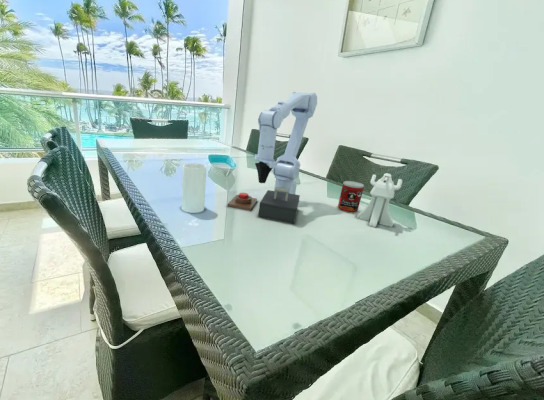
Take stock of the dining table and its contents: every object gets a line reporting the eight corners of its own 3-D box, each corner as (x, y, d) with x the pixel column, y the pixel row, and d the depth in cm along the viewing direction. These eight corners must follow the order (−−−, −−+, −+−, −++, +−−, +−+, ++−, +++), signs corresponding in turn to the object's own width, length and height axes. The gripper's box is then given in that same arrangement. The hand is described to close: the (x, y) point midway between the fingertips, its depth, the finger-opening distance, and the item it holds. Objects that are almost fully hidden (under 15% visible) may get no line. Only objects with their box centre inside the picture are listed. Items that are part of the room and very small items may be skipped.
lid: (267, 191, 110) (269, 178, 108) (299, 197, 106) (301, 183, 105) (259, 204, 95) (261, 189, 93) (296, 211, 92) (299, 195, 90)
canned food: (337, 210, 109) (343, 184, 106) (337, 204, 117) (343, 179, 113) (358, 214, 107) (365, 187, 103) (357, 208, 114) (363, 182, 110)
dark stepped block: (265, 203, 111) (267, 192, 109) (297, 209, 107) (299, 197, 106) (258, 217, 97) (259, 204, 95) (294, 224, 93) (296, 211, 92)
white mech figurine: (353, 222, 99) (366, 174, 93) (359, 212, 109) (371, 168, 103) (391, 232, 93) (407, 181, 87) (393, 221, 103) (407, 174, 97)
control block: (236, 197, 115) (236, 190, 114) (256, 201, 113) (257, 194, 112) (227, 206, 104) (228, 199, 103) (250, 211, 102) (251, 203, 101)
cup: (186, 214, 94) (187, 169, 89) (178, 205, 101) (179, 163, 96) (207, 211, 98) (210, 168, 93) (199, 203, 105) (200, 162, 99)
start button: (240, 195, 110) (240, 192, 109) (248, 197, 109) (249, 193, 108) (237, 198, 106) (238, 194, 106) (246, 199, 105) (247, 196, 105)
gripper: (248, 142, 102) (245, 177, 107) (264, 149, 89) (259, 188, 94) (266, 143, 104) (261, 177, 109) (283, 149, 91) (278, 188, 96)
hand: (262, 182), depth 101 cm, fingers closed
